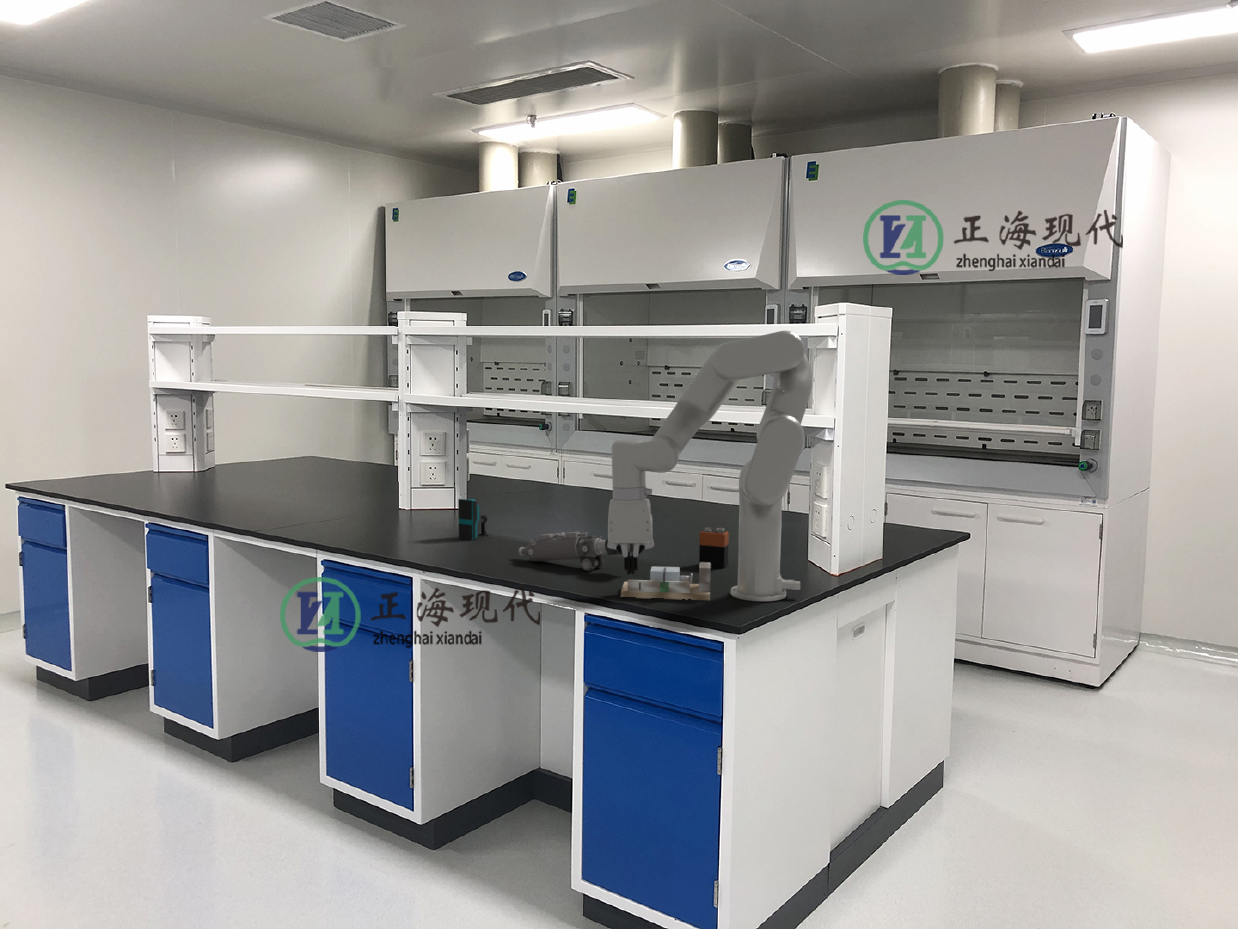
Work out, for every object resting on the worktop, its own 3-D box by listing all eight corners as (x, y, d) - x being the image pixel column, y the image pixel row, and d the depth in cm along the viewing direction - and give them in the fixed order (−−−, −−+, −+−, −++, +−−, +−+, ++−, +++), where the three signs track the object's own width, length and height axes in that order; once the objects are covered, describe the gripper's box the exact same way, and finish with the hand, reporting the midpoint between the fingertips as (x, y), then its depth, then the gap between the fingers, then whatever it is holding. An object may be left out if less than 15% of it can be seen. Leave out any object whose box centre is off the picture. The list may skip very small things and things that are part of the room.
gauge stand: (709, 590, 218) (710, 561, 217) (709, 600, 209) (710, 569, 208) (624, 587, 220) (624, 558, 219) (620, 597, 211) (621, 567, 210)
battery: (723, 568, 241) (724, 530, 240) (698, 566, 244) (699, 528, 243) (728, 565, 245) (729, 527, 244) (703, 563, 248) (704, 525, 247)
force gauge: (692, 584, 216) (692, 565, 216) (691, 592, 208) (692, 573, 208) (651, 583, 217) (651, 564, 216) (649, 591, 209) (649, 572, 209)
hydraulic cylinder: (633, 569, 229) (628, 529, 229) (514, 575, 248) (509, 538, 247) (647, 564, 235) (642, 525, 235) (530, 570, 254) (526, 533, 254)
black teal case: (493, 496, 282) (472, 500, 274) (493, 535, 284) (472, 541, 275) (478, 494, 285) (457, 499, 276) (478, 533, 286) (457, 539, 278)
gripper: (662, 491, 216) (664, 569, 218) (598, 492, 217) (600, 569, 219) (661, 496, 208) (663, 576, 210) (594, 497, 210) (597, 577, 212)
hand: (631, 573), depth 215 cm, fingers closed
